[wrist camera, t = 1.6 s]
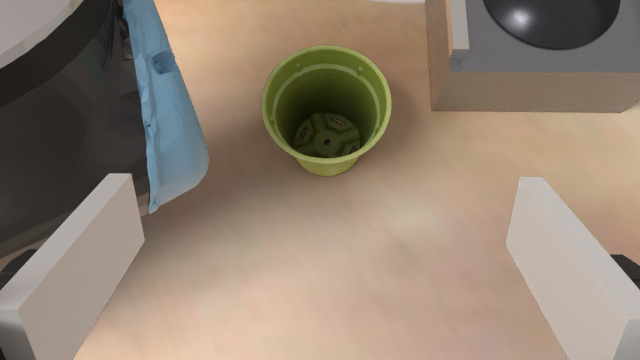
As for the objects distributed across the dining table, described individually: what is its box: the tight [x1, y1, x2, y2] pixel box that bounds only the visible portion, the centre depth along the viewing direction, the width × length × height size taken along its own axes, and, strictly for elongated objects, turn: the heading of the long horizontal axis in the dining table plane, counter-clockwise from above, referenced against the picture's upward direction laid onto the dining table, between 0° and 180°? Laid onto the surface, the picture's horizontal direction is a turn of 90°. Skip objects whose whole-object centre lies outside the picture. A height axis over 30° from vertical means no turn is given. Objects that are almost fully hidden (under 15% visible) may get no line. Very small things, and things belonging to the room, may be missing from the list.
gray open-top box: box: [426, 0, 640, 113], centre depth 42 cm, size 20×15×8 cm
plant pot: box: [261, 45, 392, 176], centre depth 39 cm, size 9×9×9 cm
